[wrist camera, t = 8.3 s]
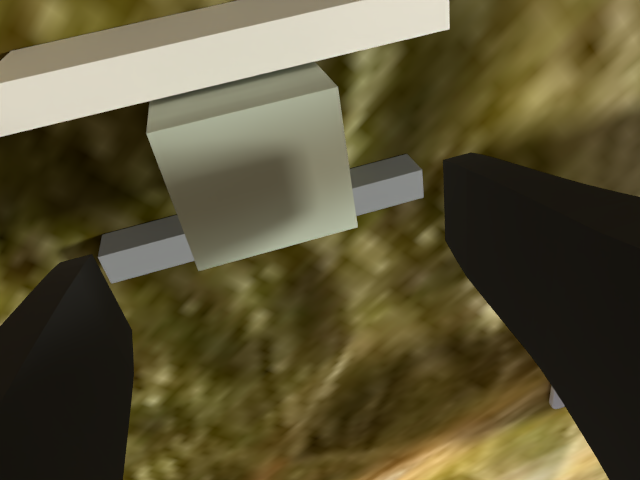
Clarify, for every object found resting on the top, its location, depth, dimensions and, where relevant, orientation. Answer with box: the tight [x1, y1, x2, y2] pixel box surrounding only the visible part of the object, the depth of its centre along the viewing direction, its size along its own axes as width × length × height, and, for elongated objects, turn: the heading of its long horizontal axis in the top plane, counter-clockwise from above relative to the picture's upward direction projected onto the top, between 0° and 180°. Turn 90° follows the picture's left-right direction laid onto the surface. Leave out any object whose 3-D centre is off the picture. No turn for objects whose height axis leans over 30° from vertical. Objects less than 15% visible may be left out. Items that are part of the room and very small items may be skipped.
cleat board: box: [0, 0, 450, 283], centre depth 16 cm, size 8×12×4 cm, turn 100°
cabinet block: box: [146, 62, 358, 271], centre depth 15 cm, size 4×4×6 cm
